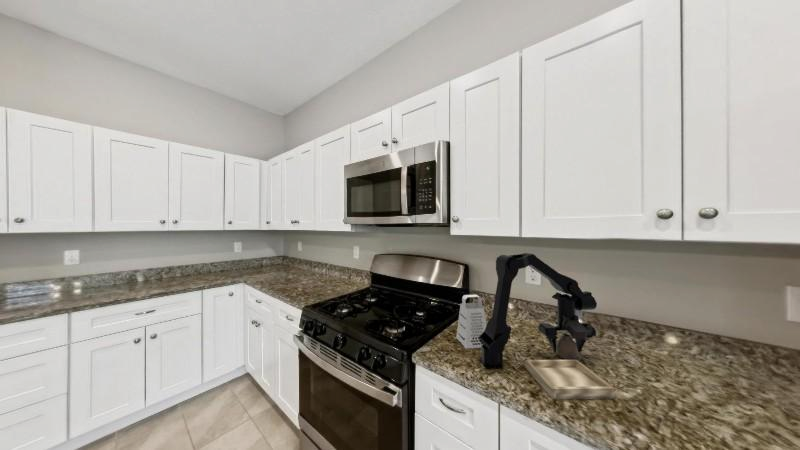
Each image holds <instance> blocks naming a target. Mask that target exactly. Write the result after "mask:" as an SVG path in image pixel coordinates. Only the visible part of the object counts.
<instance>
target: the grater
mask: <svg viewBox="0 0 800 450" xmlns="http://www.w3.org/2000/svg"><path fill="white" fill-rule="evenodd" d="M468 298H477V302H467V303H466V300H467V299H468ZM461 302H462V303H460V306H459V314H458V320H457V329H456V330H457V331H456V337H455V338H456V339H457V340H458V342H459V343H460V342H461V343H460V344H461V345H462V346H463V347H464V348H465V349H466V350H467V349H476V348H478V349H479V348H482V345H483V344H482V343H481V342H480V340H479V336H480V335H481V334H482V333H483V332H484V331H485V329H486V326H487V320H486V314H485V313H486V312H485V308H484V306H483V300H482V298H481V296H479V295H478V294H464V295H463V296H462V298H461Z"/></svg>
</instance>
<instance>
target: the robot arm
mask: <svg viewBox="0 0 800 450" xmlns="http://www.w3.org/2000/svg"><path fill="white" fill-rule="evenodd" d="M527 267H530V268H531V269H532V270H534V271H536V272H537V273H538V274H540V275H541V277H544V278H545V279H547V280H548V281H549V283H550V285H551V286H552V287H553V288H554V289H555V290H557V291H558V292H555V293H554V294H553V295H552V296H551V299H554V300H557V304H556V305H557V310H555V313H554V314H555V315H557V321H555V325H556V326H554V325H552V324H551V323H549V322H547V323H546V322H545V323H543V322H541V323H539V324H538V325H537V327H538V331H539V332H540V333H542V334H543V335H544V336H545V337H546V339H547V340H548V342H549V345H550V348H551V350H552V351H553V352H554V353H557V349H556V343H557V340H558V339H559V337H558V336H557V335H558V333H568V334H570V335H571V336H572V337H573V338H575V339H576V340H575V343H576V345H577V348H578V353H581V351H582V350H583V348H584V345H585V343H586V341H588V340H589V339H592V338H593V337H597V330H596V328H595V327H594V326H592V324H590V323H587V322H580V319H579V320H578V316H577V315H575V309H576V310H583V311H592V310H595V309H596V308H597V305H598V303H597V301H596V299H595V297H594V296H593V295H592V292H591V291H582V289H581V288H580V286H579V282H578V281H577V280H575V279H573V278H571V277H569V276H567V275H564V274H561V273H559V272H558V271H556V269H554V268H552V266H549V264H548V263H545V262H544V261H542V260H541V259H540V258H539V257H537V255H535V254H534V253H530V252H529V253H528V252H524V253H519V254H510V255H508V254H507V255H506V254H501V255H499V256H498V257H496V259H495V270H496V276H497V283H496V284H497V285H496V289H495V295H494V296H495V297H494V302H493V303H494V304H493V308H492V314H491V316H490V318H489V320H488V321H486V329H485V331H484V332H483V333H482V334H481V335H480V336H479V337H478V339H479V342H481V345H482V344H483V345H482V347H481V357H480V358H479V359H480V360H479V361H480V362H481V363H482V365H483V367H484V368H485V370H486V369H487V370H488V369H491V370H492V369H494V370H495V369H497V370H498V369H500V370H501V369H504V368H505V367H504V365H503V364H504V352H505V351H504V350H505V348H506V346H507V344H508V342H509V340H511V331H512V327H511V325H509V324H508V322H507V316H508V309H509V304H510V296H511V291H512V290H511V289H512V285H513V281H514V280H515V278H516V277H517V276H518V273H519V270H522V269H525V268H527ZM560 292H561V293H560Z"/></svg>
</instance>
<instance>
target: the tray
mask: <svg viewBox="0 0 800 450" xmlns="http://www.w3.org/2000/svg"><path fill="white" fill-rule="evenodd" d="M525 369H526V371H527V372H528V373H529V374H530V376H532V377H533V378H534V380H535V381H536V382H537V384H538V385H539V386H540V387H541V388H542V389H543V390H544V391H545V393H547V395H548V396H549V397H550V398H551V399H552V400H615V399H616V393H615V392H616V388H614V387H613V386H612V385H611V384H610V383H608V382H607V381H606V380H604V379H603V378H602V377H600V376H599V375H598V374H596V373H595V372H594V371H593V370H591V369H590V368H589V367H588V366H586V365H585V364H583V363H582V362H581V361H579V360H578V359H574V360H565V359H525Z"/></svg>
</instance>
